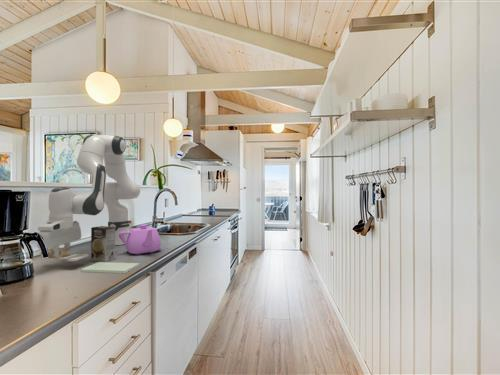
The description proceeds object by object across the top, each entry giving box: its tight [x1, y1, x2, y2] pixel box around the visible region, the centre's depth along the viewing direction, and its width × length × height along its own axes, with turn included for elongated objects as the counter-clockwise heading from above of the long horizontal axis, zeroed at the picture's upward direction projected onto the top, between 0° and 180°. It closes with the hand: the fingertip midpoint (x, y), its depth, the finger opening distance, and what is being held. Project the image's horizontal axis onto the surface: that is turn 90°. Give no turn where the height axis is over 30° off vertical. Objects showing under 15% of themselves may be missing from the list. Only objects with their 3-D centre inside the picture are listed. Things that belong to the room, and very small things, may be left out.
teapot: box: [119, 223, 162, 256], centre depth 141 cm, size 23×21×15 cm
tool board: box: [80, 261, 140, 274], centre depth 114 cm, size 11×20×1 cm, turn 84°
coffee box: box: [90, 225, 116, 262], centre depth 129 cm, size 9×6×16 cm
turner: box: [40, 247, 89, 262], centre depth 117 cm, size 19×8×4 cm, turn 84°
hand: (61, 254), depth 117 cm, fingers closed on turner, 2 cm apart
